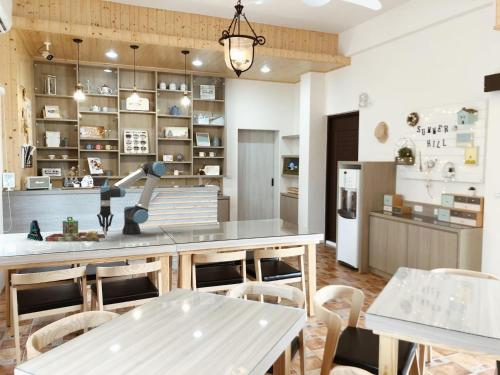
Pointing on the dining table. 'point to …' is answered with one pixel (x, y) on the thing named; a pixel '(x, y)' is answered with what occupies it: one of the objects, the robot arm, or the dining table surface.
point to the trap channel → (73, 237)
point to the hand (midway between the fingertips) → (105, 235)
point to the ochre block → (92, 234)
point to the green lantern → (70, 226)
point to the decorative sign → (35, 231)
